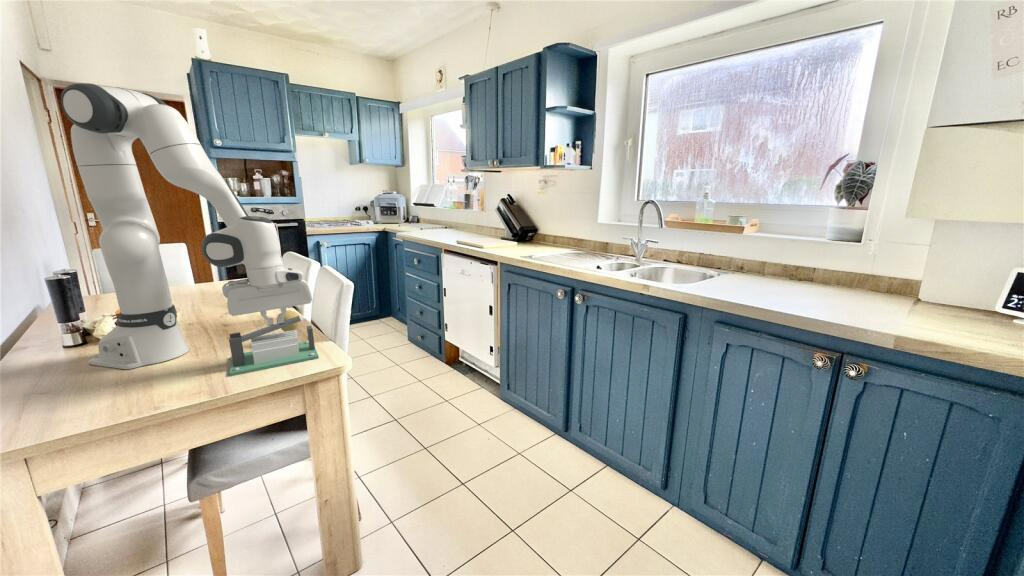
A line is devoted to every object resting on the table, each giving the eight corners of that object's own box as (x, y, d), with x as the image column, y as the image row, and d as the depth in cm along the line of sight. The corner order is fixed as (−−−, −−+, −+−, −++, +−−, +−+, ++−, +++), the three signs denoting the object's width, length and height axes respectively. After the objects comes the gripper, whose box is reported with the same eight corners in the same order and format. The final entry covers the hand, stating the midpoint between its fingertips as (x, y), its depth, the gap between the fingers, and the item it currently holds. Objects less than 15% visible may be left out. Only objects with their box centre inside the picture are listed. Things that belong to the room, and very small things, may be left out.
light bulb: (292, 345, 124) (288, 314, 122) (275, 343, 126) (270, 313, 123) (307, 338, 130) (303, 308, 128) (289, 336, 132) (285, 307, 129)
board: (230, 376, 104) (224, 345, 102) (231, 357, 115) (226, 329, 113) (318, 358, 115) (315, 330, 113) (312, 342, 126) (309, 317, 124)
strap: (234, 345, 108) (232, 342, 107) (234, 341, 110) (233, 338, 110) (301, 321, 115) (299, 318, 115) (300, 318, 118) (298, 315, 118)
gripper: (220, 284, 102) (231, 335, 105) (308, 272, 112) (316, 319, 116) (221, 280, 107) (232, 328, 110) (306, 269, 117) (313, 314, 121)
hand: (275, 324), depth 113 cm, fingers closed
